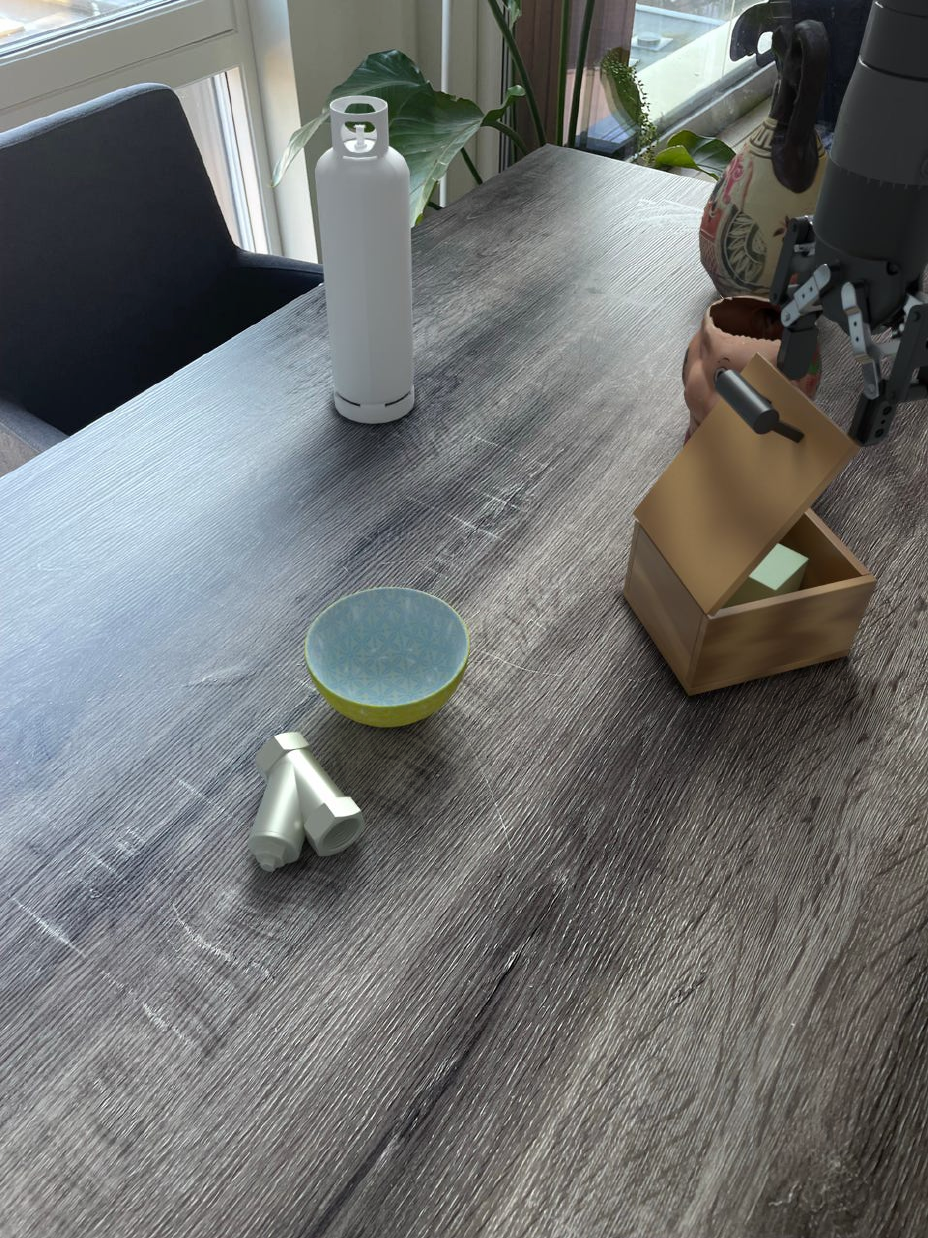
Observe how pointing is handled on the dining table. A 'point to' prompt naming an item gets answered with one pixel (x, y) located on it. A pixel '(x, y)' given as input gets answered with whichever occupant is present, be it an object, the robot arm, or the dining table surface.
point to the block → (771, 577)
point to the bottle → (367, 265)
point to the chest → (752, 613)
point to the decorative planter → (735, 351)
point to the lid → (742, 481)
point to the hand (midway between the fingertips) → (824, 409)
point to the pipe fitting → (299, 806)
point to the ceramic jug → (770, 173)
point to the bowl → (387, 655)
